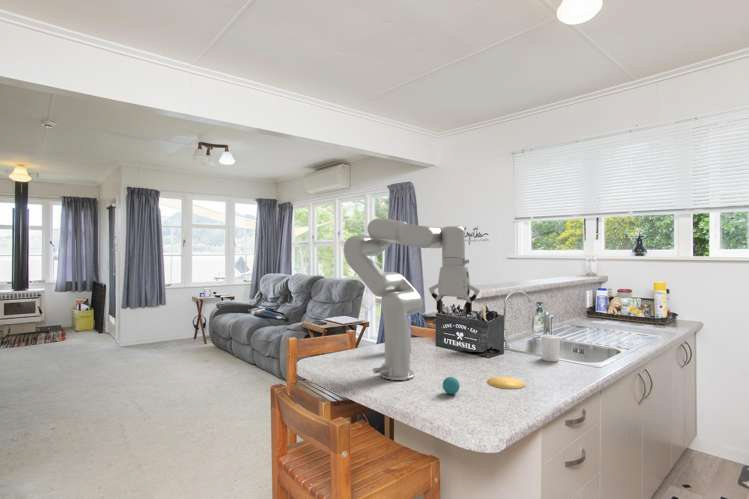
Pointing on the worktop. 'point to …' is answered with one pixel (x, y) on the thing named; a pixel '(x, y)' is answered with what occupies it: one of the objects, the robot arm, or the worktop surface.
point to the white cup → (550, 347)
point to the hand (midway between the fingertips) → (454, 313)
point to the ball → (451, 385)
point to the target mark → (506, 383)
